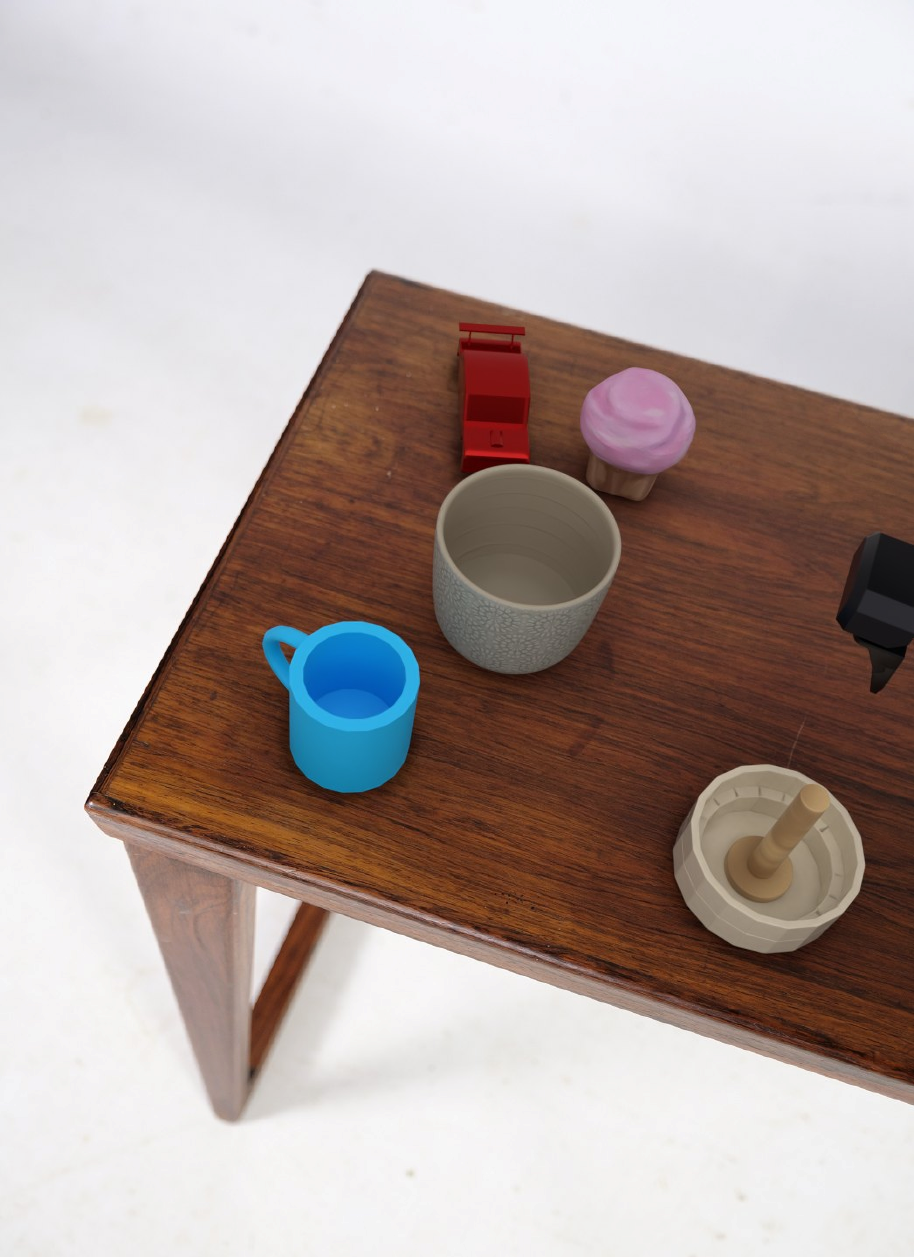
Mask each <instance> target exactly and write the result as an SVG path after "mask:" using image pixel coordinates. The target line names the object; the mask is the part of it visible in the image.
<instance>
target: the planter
mask: <svg viewBox="0 0 914 1257" xmlns="http://www.w3.org/2000/svg"><path fill="white" fill-rule="evenodd" d="M436 519H437V520H436V523H435V524H436V525H435V532H434V541H433V556H432V601H433V608H434V609H433V610H434V615H435V618H436V622H437V624H438V626H439V629H440V630H441V632H442V634H443V636H444V637H445V639H446V641H447V642H448V643H449V645H451V646H452V648H453V649H454V650H455V651H456V652H457V653H458V654H460V655H461V656H462V657H463V658H464V659H466V660H468V661H469V662H471V663H473V664H474V665H476V666H477V667H480V668H483V669H486V670H487V671H492V672H495V673H500V674H506V675H526V674H527V675H528V674H533V673H537V672H540V671H543V670H546V669H549V668H550V667H553V666H555V665H557V664H558V663H560V662H561V661H563V660H564V659H565V658H566V657H568V656H569V655H570V654H571V653H572V652H573V651H574V650H575V649H576V647H578V645H579V643H580V642H582V639H583V638H584V637H585V635H586V633H587V632H588V630H589V629H590V627H591V625H592V624H593V622H594V620H595V618H596V616H597V614H598V612H599V610H600V608H601V606H602V604H603V602H604V600H605V598H606V596H607V594H608V592H609V590H610V587H611V585H612V583H613V581H614V579H615V576H616V573H617V571H618V567H619V564H620V561H621V557H622V537H621V532H620V529H619V526H618V523H617V520H616V519H615V517H614V515H613V513H612V511H611V510H610V508H609V506H607V504H606V503H605V501H604V500H603V499H602V498H601V497H600V496H599V495H598V494H597V493H596V492H594V490H592V489H591V488H590V487H589V486H587V485H586V484H584V483H582V482H581V481H580V480H578V479H576V478H574V477H572V476H570V475H569V474H566V473H564V472H561V471H558V470H555V469H552V468H549V467H545V466H540V465H534V464H529V465H527V464H509V465H500V466H495V467H491V468H487V469H484V470H481V471H479V472H476V473H471V474H470V475H468V476H467V477H465V478H463V479H462V480H461V481H460V482H459V483H457V484H456V485H455V486H454V487H453V488H452V489H451V490H450V491H449V493H448V494H447V495H446V497H445V498H444V500H443V501H442V503H441V505H440V508H439V511H438V515H437V518H436Z"/></svg>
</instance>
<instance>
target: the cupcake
mask: <svg viewBox="0 0 914 1257" xmlns="http://www.w3.org/2000/svg"><path fill="white" fill-rule="evenodd" d="M579 427H580V432H581V435H582V437H583V439H584V442H585V443H586V445H587V446H588V448H589V449H590V450H589V458H588V462H587V467H586V472H585V479H586V481H587V483H588V484H589V485H590V487H591V488H592V489H594V490H596V491H600V492H603V493H607V494H610V495H612V496H618V497H622V498H625V499H628V500H631V501H634V502H635V501H636V502H637V501H638V502H640V501H641V502H642V501H643V500H645V499H646V497H647V496H648V494H649V493H650V491H651V490H652V487H653V486H654V485H655V482H656V480H657V477H658V475H659V474H660V473H662V472H665V471H666V470H668V469H670V468H671V467H673V466H675V465H676V464H678V463H679V462H680V461H681V460H683V458H685V456H686V454H687V453H688V451H689V449H690V447H691V444H692V442H693V441H694V436H695V435H694V434H695V432H696V417H695V414H694V411H693V408H692V405H691V403H690V401H689V400H688V398H687V397H686V395H685V394H684V392H683V391H682V389H681V388H680V387H679V386H678V384H676V383H675V381H673V380H672V379H671V378H669V377H668V376H667V375H665V374H663V373H661V372H658V371H656V370H653V369H649V368H643V367H637V366H633V367H629V368H626V369H624V370H622V371H620V372H618V373H615V374H612V375H610V376H608V377H607V378H606V379H604V380H603V381H602V382H600V383H598V384H597V385H595V386H594V387H593V388H592V389H590V390H589V392H588V393H587V394H586V396H585V397H584V399H583V403H582V406H581V409H580V419H579Z"/></svg>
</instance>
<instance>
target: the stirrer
mask: <svg viewBox="0 0 914 1257" xmlns="http://www.w3.org/2000/svg"><path fill="white" fill-rule="evenodd" d="M823 787H824V786H823ZM823 787H821V786H819V785H816V784H808V785H805V786H804V787H803V788H802V789H801V790H800V792H799V793H798V794H797V796H796V797H795V798H794V799H793V801H792V802H791V803H790V805H789V806H788V807H787V809H786V810H785V811H784V812H783V814H782V815H781V816H780V818H779V819H778V820H777V822H776V823H775V824H774V826H773V827H772V828H771V829H770V831H769V832H768V833H767V835H766V836H765V837H762V836H746V837H743V838H741V839H739V840H737V841H736V842H735V843H734V844H733V845H732V846H731V847H730V849H729V850H728V852H727V854H726V856H725V860H724V870H725V874H726V877H727V880H728V882H729V883H730V885H731V886H732V887H733V889H734V890H735V891H736V892H737V893H739V894H740V895H741V896H743V897H744V898H746V899H748V900H751V901H754V902H760V903H766V902H772V901H775V900H777V899H778V898H780V897H781V896H782V895H783V894H784V893H785V892H786V891H787V890H788V888H789V887H790V885H791V883H792V879H793V867H792V863H791V860H790V858H789V856H788V855H789V854H790V853H791V852H792V851H793V849H794V848H795V847H796V846H797V845H798V843H799V842H800V841H801V840H802V839H803V837H804V836H805V835H806V834H807V833H808V831H809V830H810V829H811V828H812V827H813V825H814V824H815V823H816V822H817V820H818V819H819V818H820V817H821V816H822V814H823V813H824V812H825V811H826V810H827V808H828V807H829V805H830V797H829V794H828V793H827V791H826V790H825V789H824V788H825V787H824V788H823Z"/></svg>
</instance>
